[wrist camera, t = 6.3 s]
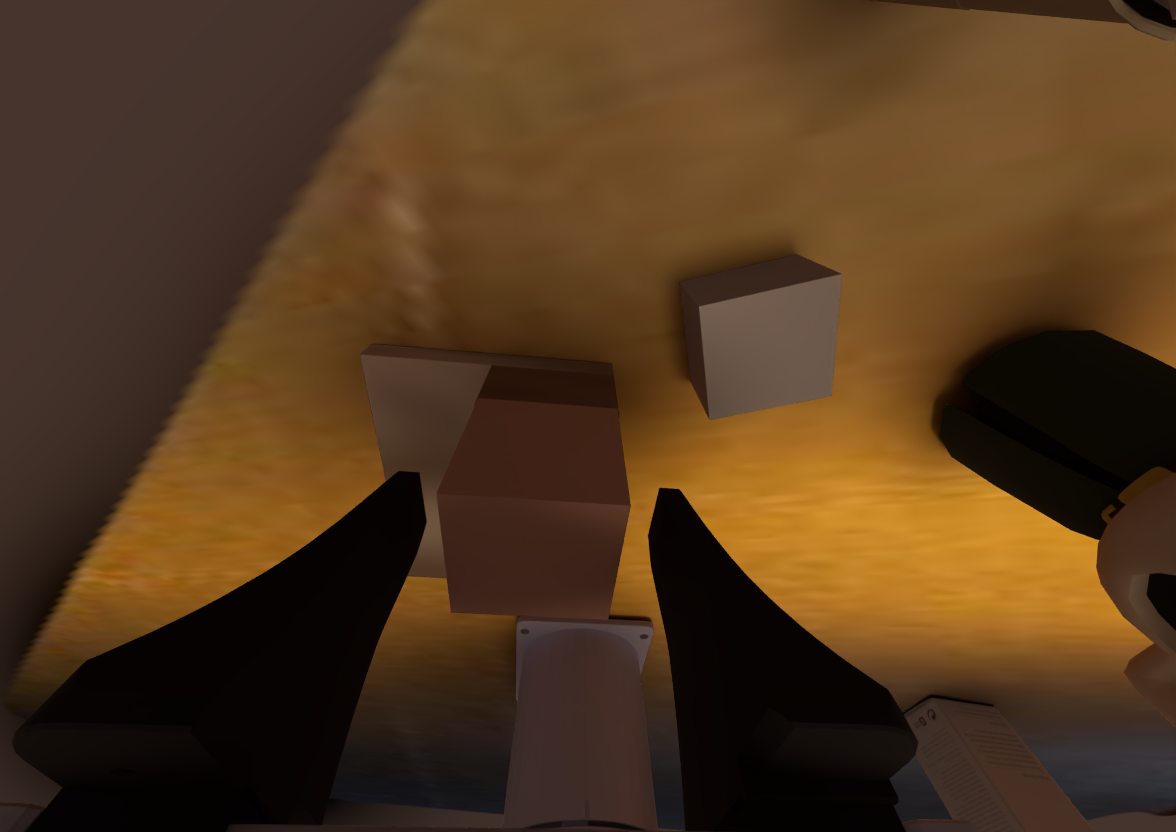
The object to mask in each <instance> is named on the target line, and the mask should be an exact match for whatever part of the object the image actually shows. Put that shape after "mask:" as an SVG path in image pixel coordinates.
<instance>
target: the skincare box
mask: <svg viewBox="0 0 1176 832" xmlns="http://www.w3.org/2000/svg"><path fill="white" fill-rule="evenodd" d="M904 716H905V718H906V720H907V722H908V724H909V725H910V727H911V729H912V731H913V733H914V734H915V736H916V738H917V740H918V742H919V743H918V747H917V751H916V754H915V756H916V757H917V759H918V761H919V762H920V764H921V766H922V767H923V769H924V771H925V773H926V774H927V776H928V778H929V779H930V781H931V783H932V784H933V786H934V788H935V789H936V791H937V793H938V795H939V796H940V798H941V800H942V801H943V803H944V805H945V806H946V808H947V810H948V812H949V813H950V815H951V817H952V818H953V820H966V821H968V822H970V823H972V824H973V825H974V827H975V828H976V830H977V832H1095V831H1094V830H1093V829H1092V827H1091V826H1090V825H1089V824H1088V822H1087V821H1086V820H1085V819H1084V817H1083V816H1082V815H1081V814H1080V812H1079V811H1078V810H1077V809H1076V807H1075V806H1074V805H1073V804H1072V802H1071V801H1070V800H1069V798H1068V797H1067V796H1066V795H1065V793H1064V792H1063V791H1062V790H1061V788H1060V787H1059V786H1058V785H1057V783H1056V782H1055V781H1054V780H1053V778H1052V777H1051V776H1050V775H1049V773H1048V772H1047V771H1046V770H1045V768H1044V767H1043V766H1042V765H1041V763H1040V762H1039V761H1038V760H1037V758H1036V757H1035V756H1034V755H1033V753H1032V752H1031V751H1030V750H1029V748H1028V747H1027V746H1026V744H1025V743H1024V742H1023V741H1022V739H1021V738H1020V737H1019V736H1018V734H1017V733H1016V732H1015V731H1014V729H1013V728H1012V727H1011V725H1010V724H1009V723H1008V722H1007V720H1006V719H1005V718H1004V717H1003V715H1002V714H1001V713H1000V712H999V710H998V709H997V708H995V707H991V706H985V705H979V704H972V703H965V702H959V701H952V700H946V699H939V698H930V699H927V700H925V701H923V702H921V703H920V704H918V705H917V706H915V707H914V708H912V709H911V710H909V711H908V712H906V713H905V714H904Z"/></svg>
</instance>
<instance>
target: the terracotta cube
mask: <svg viewBox="0 0 1176 832" xmlns="http://www.w3.org/2000/svg"><path fill="white" fill-rule="evenodd" d="M436 496H437V504H438V512H439V520H440V528H441V536H442V544H443V552H444V559H445V567H446V575H447V583H448V591H449V599H450V607H451V613H472V614H493V615H515V616H537V617H559V618H580V619H602V620H608V617H609V612H610V607H611V602H612V597H613V592H614V587H615V582H616V577H617V572H618V567H619V562H620V557H621V552H622V547H623V542H624V537H625V532H626V527H627V522H628V517H629V512H630V507H631V504H630V497H629V490H628V483H627V476H626V469H625V461H624V454H623V447H622V440H621V433H620V425H619V418H618V411H617V409H615V408H602V407H589V406H576V405H562V404H549V403H536V402H523V401H510V400H496V399H483V398H478V399H477V402H476V404H475V406H474V409H473V411H472V413H471V415H470V418H469V420H468V422H467V424H466V427H465V429H464V431H463V434H462V436H461V438H460V440H459V443H458V445H457V447H456V450H455V452H454V454H453V456H452V459H451V461H450V463H449V466H448V468H447V470H446V472H445V475H444V477H443V479H442V482H441V484H440V486H439V488H438V491H437V493H436Z"/></svg>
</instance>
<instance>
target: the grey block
mask: <svg viewBox="0 0 1176 832" xmlns="http://www.w3.org/2000/svg"><path fill="white" fill-rule="evenodd" d="M841 279H842V274H841V273H838V272H836V271H834V270H832V269H829V268H827V267H825V266H822V265H820V264H818V263H816V262H813V261H811V260H809V259H806V258H804V257H802V256H800V255H793V256H788V257H784V258H780V259H775V260H771V261H767V262H763V263H758V264H754V265H750V266H745V267H741V268H737V269H733V270H728V271H724V272H720V273H715V274H711V275H707V276H703V277H698V278H694V279H690V280H686V281H681V282H679V285H680V294H681V302H682V311H683V320H684V328H685V337H686V346H687V354H688V363H689V372H690V380H691V384H692V386H693V388H694V390H695V392H696V394H697V396H698V398H699V400H700V402H701V404H702V406H703V408H704V410H705V412H706V414H707V416H708V418H709V420H712V419H717V418H722V417H727V416H732V415H737V414H742V413H747V412H752V411H757V410H762V409H767V408H772V407H778V406H783V405H788V404H793V403H798V402H803V401H808V400H813V399H818V398H823V397H828V396H832V385H833V373H834V361H835V349H836V338H837V326H838V314H839V302H840V291H841Z"/></svg>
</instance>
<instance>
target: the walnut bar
mask: <svg viewBox="0 0 1176 832" xmlns="http://www.w3.org/2000/svg"><path fill="white" fill-rule="evenodd" d="M478 398H483V399H496V400H510V401H523V402H536V403H549V404H562V405H576V406H589V407H602V408H615V409H617V411H618V404H617V397H616V390H615V383H614V376H613V375H608V374H595V373H583V372H570V371H558V370H545V369H533V368H520V367H508V366H496V365H492V366H491V368H490V370H489V372H488V375H487V377H486V379H485V381H484V384H483V386H482V388H481V390H480V393H479V395H478V397H477V399H478ZM476 402H477V400H476ZM476 402H475V404H476ZM618 418H619V411H618Z"/></svg>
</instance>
